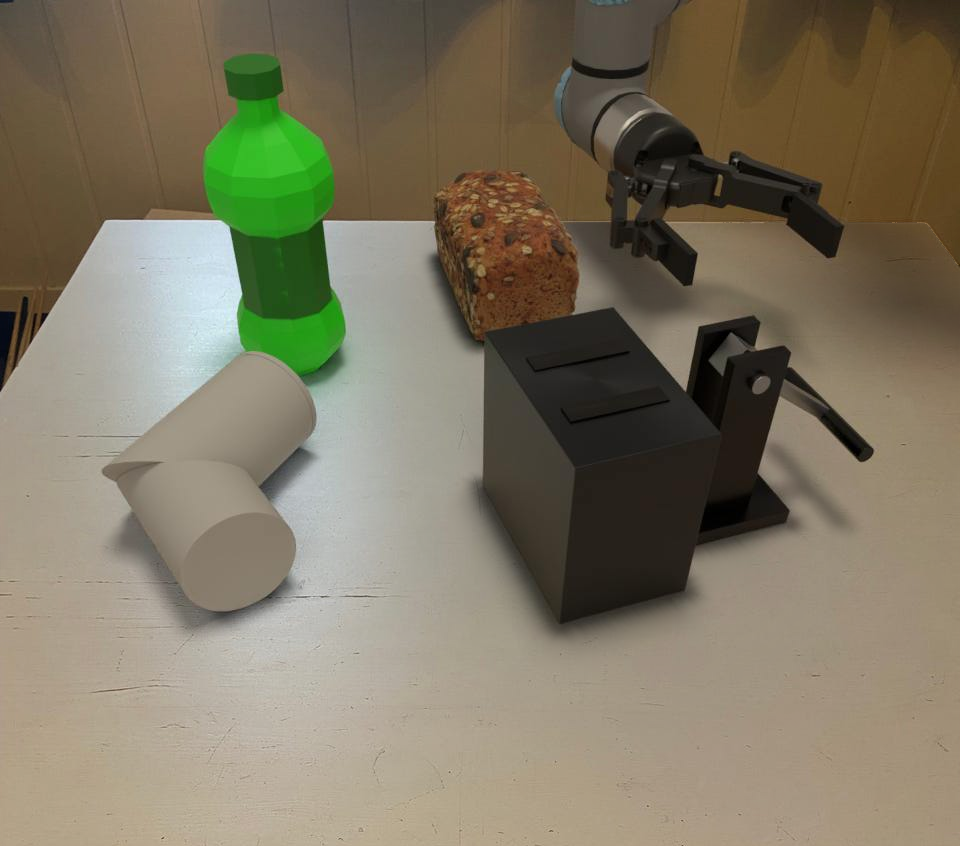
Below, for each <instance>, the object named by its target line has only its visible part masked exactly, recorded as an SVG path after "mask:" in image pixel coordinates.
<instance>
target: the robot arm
mask: <svg viewBox="0 0 960 846" xmlns="http://www.w3.org/2000/svg"><path fill="white" fill-rule="evenodd" d="M692 1H693V0H575V5H574V6H575V7H574V26H573V40H572V41H573V42H572V43H573V44H572V57H571V59H572V60H571V63H570V66H569V67H568V68H567V69H565V71H564V72H563V74H562V75H561V78H560V80H559V82H558V83H557V85H556V88H555V90H554V94H553V109H554V110H553V111H554V116H555V118H556V121H557V122H558V124H559V126H560V127H561V128H562V130H563V131H564V133H566V134H567V137H568V138H569V140H570V142H572V143H573V144H574V145H575V146H576V147H577V148H579V149H581V150H582V151H583V152H584V153H586V154H587V155H588V156H589V157H590V158H592V160H593V161H595V162H596V163H597V165H598V166H599V167H600V168H602V169H603V170H604V171H605V172H606V173H607V176H606V177H607V178H606V179H607V180H606V188H605V199H604V200H605V202H606V204H608V206H609V207H610V209H611V210H610V211H611V212H610V230H609V247H610V248H611V249H614V250H620V249H623V248H624V247H625V244H631V249H630V250H631V251H630V255H631V256H632V257H633V258H639V259H640V258H643V257H645V255H646V256H647V257H648V258H649V259H650V260H652V261H654V262H659V263H660V264H661V265H662V266H663V267H664V268H665V269H666V270H667V272H668V273H670V274H671V275H672V276H673V277H674V278H675V279H676V280H677V281H678V282H679V283H680V284H681V285H682V286H683V287H689V286H693V284H694V278H695V272H696V266H697V261H698V255H699V253H698V251H696V249H694V248H693V247H692V246H691V245H690V244H689V243H688V242H687V241H686V240H684V239H683V238H682V237H681V235H680V234H679V233H677V232H676V231H675V230H674V229H673V228H672V227H671V226H670V225H669V223H667V222H666V221H665V220H664V217H665V215H666V214H667V212H668V210H670V208H671V207H672V208H673V207H674V208H677V209H680V208H686V207H689V206H692V205H693V206H695V205H704V206H708V207H714V208H717V209H725V208H726V207H727V206H732V207H737V208H741V209H746V210H749V211H754V212H758V213H763V214H766V215H769V216H770V215H771V216H774V217H779V218H783V219H787V220H786V226H787V227H789V229H791V230H792V231H793V232H795V234H797V235H798V236H800V237H801V238H802V239H803V240H804V241H805V242H807V243H808V244H809V245H811V246H812V247H813V248H814V249H815V250H816V251H818V252H819V253H820V254H821V255H822V256H824V257H825V258H826V259H835V258H836V257H837V253H838V251H839V250H838V249H839V247H840V243H841V239H842V237H843V236H842V235H843V232H844V229H845V225H844V224H843V223H841V222H840V221H839V220H838V219H836V218H835V217H834V216H832V215H831V214H830V213H829V211H828V210H827V209H825V208H824V207H823V206H821V205H820V204H819V201H820V196H821V193H822V189H823V183H822V182H820V181H817V180H815V179H811V178H809V177H805V176H802V175H799V174H797V173H794V172H791V171H788V170H786V169H783V168H779V167H776V166H774V165H771V164H767V163H765V162H763V161H759V160H756V159H753V158H752V157H750V156H748V155H747V154H746V153H744V152H742V151H739V150H732V151H730V153H729V157H728V160H727V161H723V162H719V161H718V160H716V159H714V158H712V157H709V156H706V155H705V154H704V152H703V149H702V146H701V143H700V141H699V139H698V137H697V135H696V134H695V132H694V131H692V130H691V129H690V128H689V127H688V126H687V125H685V124H684V123H683V122H681V121H680V120H679V119H678V118H676V117H675V116H674V115H673V114H672V113H671V112H670V111H669V110H667V109H666V108H665V107H664V106H662V105H661V104H659V103H658V102H656V101H655V100H654V99H653V98H651V96H649V95H648V94H647V93H646V86H647V79H648V71H649V65H650V57H651V50H652V41H653V34H654V28H655V27H657V25H658V24H660V23H662V22H663V21H664V20H666V19H667V18H668V17H670V16H671V15H672V14H673V13H674V12H676V11H678V10H679V9H680V8H681V7H683V6H686V5H688V4H689V3H690V2H692ZM719 179H722V181H721V187H720V192H719V195H716V194H715V193H716V190H717V185H718V182H719ZM630 198H632V199H633V200H634V201H635V202H636V203H637V204H639V205H640V208H639V210H638V212H637V213H636V215H635V218H634V220H632V219H631V220H630V219H629V220H628V201H629V200H628V199H630Z"/></svg>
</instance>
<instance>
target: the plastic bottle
mask: <svg viewBox="0 0 960 846" xmlns="http://www.w3.org/2000/svg"><path fill="white" fill-rule="evenodd" d="M222 64H223V71H224V77H225V83H226V88H227V89H226V90H227V95H228V96H229V97H232V98H234V99H236V100H235V101H236V106H237V112H236V114H235V115H233V117H232V118H231V119H230V120H229V121H228V122H226V124H225V125H224V126H223V127H222V128H221V129H220V130H219V132H218V133H217V134H216V136H215V137H214V138H213V139H212V141H210V143H209V144H208V145H207V147H206V148H205V151H204V156H203V163H202V170H203V171H202V172H203V182H204V188H205V193H206V198H207V202H208V204H209V206H210V208H211V211H212V213H213V215H214V217H215V218H217V219H218V220H220V221H221V222H222V223H223V224H225V225H226V226H228V228H229V233H230V237H231V243H232V247H233V252H234V259H235V264H236V268H237V269H236V270H237V275H238V281H239V284H240V290H241V296H240V299H239V302H238V306H237V310H236V320H237V329H238V335H239V341H240V344H241V346H242V347H243V349H244V350H245V352H248V351H258V352H263V353H266V354H269V355H271V356H273V357H275V358H277V359H279V360H280V361H282V362H283V363H285V364H286V365H287V366H288V367H290V368H291V369H292V370H293V371H294V372H295V373H296V374H297V375H298V377H301V376H304V375H307V374H310V373H313V372H317V371H318V370H319V369H320V368H321V367H322V366H323V365H324V364H325V363H326V362H327V361H328V360H329V359H330V358H331V357H332V356H333V355H334V353H336V352H337V350H338V349H340V347H341V346H342V344H343V343H344V340H345V336H346V333H347V327H346V326H347V325H346V320H345V319H346V318H345V315H344V311H343V307H342V303H341V300H340V299H339V297H338V295H337V294H336V292H335V290H334V289H333V288H332V286H331V279H330V271H329V264H328V263H329V262H328V254H327V245H326V237H325V228H324V220H323V218H324V217H325V215H326V214H327V213H328V212H329V210H330V209H331V208H332V207H333V205H334V200H335V191H336V190H335V189H336V187H335V178H334V170H333V167H332V163H331V160H330V156H329V153H328V151H327V149H326V147H325V144H324V143H323V141H322V139H321V138H320V137H319V136H317V135H316V134H315V133H314V132H313V131H311V130H310V129H309V128H307V127H306V126H305V125H304V124H302V123H301V122H300V121H298V120H297V119H295V118H294V117H292V116H291V115H290V114H288V113H286V112H284V111H283V110H282V109H281V108H280V104H279V97H278V96H279V95H281V94H282V93H284V91H285V90H284V82H283V75H282V74H283V73H282V67H281V62H280V59H279V58H278V57H276V56H273V55H270V54H268V53H245V54H244V53H243V54H239V55H234V56H231V57H229V58H228V59H226V60H224V61H223V62H222Z"/></svg>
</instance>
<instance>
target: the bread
mask: <svg viewBox="0 0 960 846" xmlns="http://www.w3.org/2000/svg"><path fill="white" fill-rule="evenodd" d="M432 203H433V205H432V210H433V211H432V213H433V217H434V225H433V230H434V235H435V241H436V250H437V251H436V252H437V255H438V257H439V261H440V264H441V265H442V268H443V270H444V271H443V272H444V274H445V276H446V279H447V281H448V285H449V287H450V289H451V290H452V293H453V295H454V296H455V300H456V303H457V306H458V307H460V311H461V314H462V316H463V318H464V321H465V324H466V325H467V327H468V329H469V331H470V333H471V334H472V336H473V338H474V340H476V341H482V342H483V341H484V335H485V332H486V331H491V330H497V329H502V328H507V327H512V326H517V325H523V324H528V323H533V322H538V321H543V320H549V319H554V318H559V317H564V316H570V315H573V313H574V312H575V311H576V304H575V302H576V301H577V291H578V287H579V284H580V271H579V268H578V264H579V262H578V258H579V250H578V248H577V246H576V245H575V244H574V243H573V242H572V240H573V237H572V235H571V234H570V233H568V232H567V229H566V226H565V225H564V223H563V221H562V220H561V218H560V217H559V216H558V215H557V214H556V210H554V208H553V207H551V206H550V205H549V204H548V203H547V202H546V200H545V199H544V197H543V194H542V192H541V189H540V187H538V186H537V183H536V181H535V180H534V178H533V177H531V176H530V175H528V174H526V173H524V172H523V171H520V170H504V169H503V170H500V169H498V170H490V169H489V170H486V169H485V170H477V171H469V172H461V173H460V174H459V175H457V176H456V178H455V179H454V180H452V181H450V183H448V184H446V185H444V186H442V187H440V189H439V191H437V193H436V194H434V198H433V202H432Z"/></svg>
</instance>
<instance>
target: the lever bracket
mask: <svg viewBox="0 0 960 846" xmlns="http://www.w3.org/2000/svg"><path fill="white" fill-rule="evenodd" d="M761 323H762V322H761V321H760V320H759V319H758V318H757V317H756V316H755V315H754V314H753V315H748V316H743V317H738V318H732V319H729V320H722V321H719V322H714V323H708V324H704V325H703V324H702V325H699V326H698V328H697V333H696V336H695V337H696V338H695V343H694V347H693V353H692V358H691V363H690V368H689V373H688V379H687V384H686V389H685V392H686V393H687V394H688V395H689V396H690V398H691V399H692V400H693V401H694V402H695V403H696V405H697V406H698V407H699V408H700V409H701V410H702V412H703V413H704V414H705V415H706V416H707V417H708V419H709V420H710V421H711V422H712V423H713V425H714V426H715V427H716V428H717V429H718V430H719V432H720V433H721V434H722V436H721V440H720V445H719V449H718V453H717V457H716V462H715V466H714V470H713V474H712V478H711V483H710V487H709V491H708V495H707V500H706V504H705V508H704V512H703V516H702V521H701V525H700V529H699V533H698V537H697V542H696V546H698V545H701V544H706V543H709V542H713V541H717V540H722V539H725V538H729V537H733V536H737V535H740V534H744V533H748V532H752V531H755V530H756V531H757V530H760V529H764V528H767V527H771V526H775V525H779V524H784V523H786V522H787V521H788V518H789V515H790V512H791V511H790V508H788V506H787V505H786V504H785V503H784V502H783V500H782V499H781V498H780V497H779V496H778V494H777V493H776V492H775V491H774V490H773V488H772V487H770V485H769V484H768V483H767V482H766V480H765V479H764V478H763V477H762V476H761V475H760V474H759V470H760V466H761V463H762V459H763V455H764V452H765V448H766V445H767V441H768V438H769V434H770V431H771V427H772V423H773V420H774V416H775V413H776V410H777V405H778V403H779V399H780V396H779V395H780V392H781V388H782V385H783V381H784V378H785V374H786V371H787V367H789V363H790V360H791V356H792V351H791V350H790V349H789V348H788V347H787V346H785V345H784V344H783V345H777V346H772V347H768V348H764V349H759V350H758V349H757V350H758V351H753V352H749V353H744V354H739V355H734V356H730V357H727V361H726V365H725V370H724V374H723V377H722V376H721V374H720V373H719V372H718V371H717V370H716V369H715V368H714V367H713V366H712V365H711V363H710V362H709V361H708V360H709V359H710V357H711V356H712V355H713V354H714V353H715V351H716V350H717V349H718V348H719V346H720V345H721V344H722V343H723V341H724V340H725V339H726V338H727V336H728V335H729V334H730V333H733V334H734V335H736V336H738V337H739V338H741V339H742V340H744V341H746V342H747V343H749V344H751V345H752V346H754V347H755V348H756V345H757V344H756V343H757V340H758V335H759V331H760V328H761Z"/></svg>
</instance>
